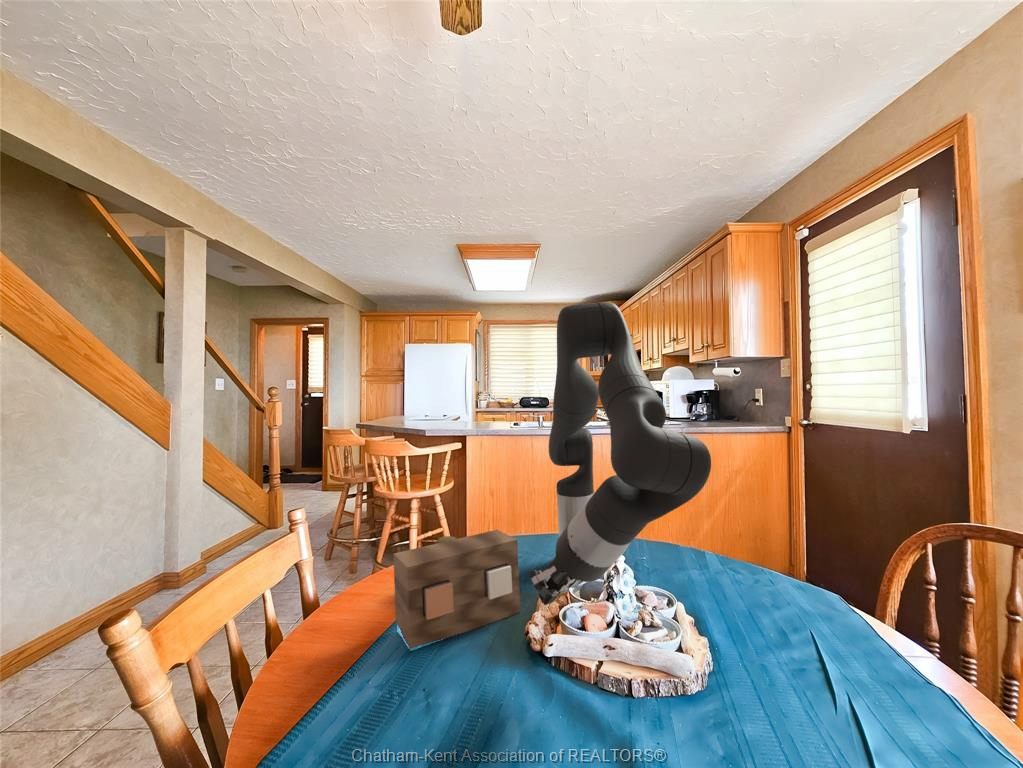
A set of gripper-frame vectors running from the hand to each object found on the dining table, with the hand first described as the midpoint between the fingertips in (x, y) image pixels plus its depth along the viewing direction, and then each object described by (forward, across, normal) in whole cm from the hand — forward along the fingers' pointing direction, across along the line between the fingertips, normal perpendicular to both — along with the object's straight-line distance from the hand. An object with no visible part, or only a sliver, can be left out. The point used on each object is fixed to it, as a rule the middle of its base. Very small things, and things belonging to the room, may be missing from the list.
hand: (544, 597), depth 67 cm
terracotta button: (+17, +12, -10) cm, 23 cm away
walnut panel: (+21, +6, -7) cm, 23 cm away
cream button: (+17, 0, -10) cm, 19 cm away
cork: (+32, +2, -18) cm, 36 cm away
